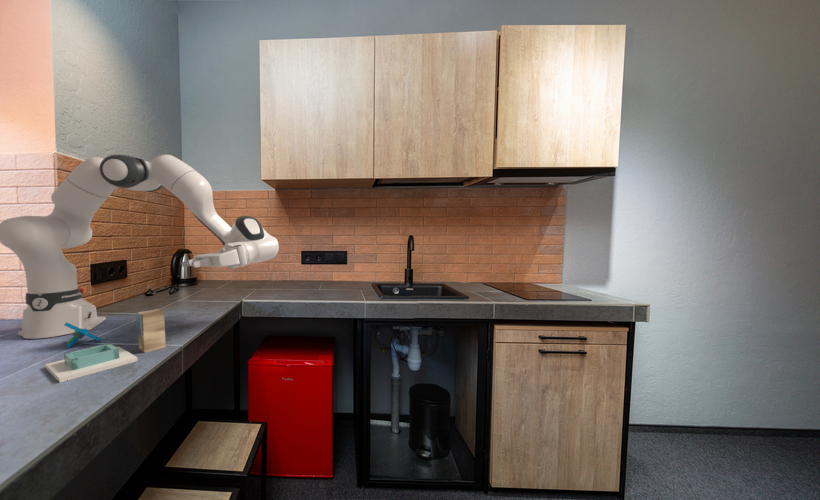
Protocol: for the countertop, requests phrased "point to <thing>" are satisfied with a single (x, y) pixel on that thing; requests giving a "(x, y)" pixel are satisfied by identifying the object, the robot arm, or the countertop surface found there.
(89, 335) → the blue crossed bar frame
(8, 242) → the robot arm
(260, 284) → the countertop surface
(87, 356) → the socket base
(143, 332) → the block
